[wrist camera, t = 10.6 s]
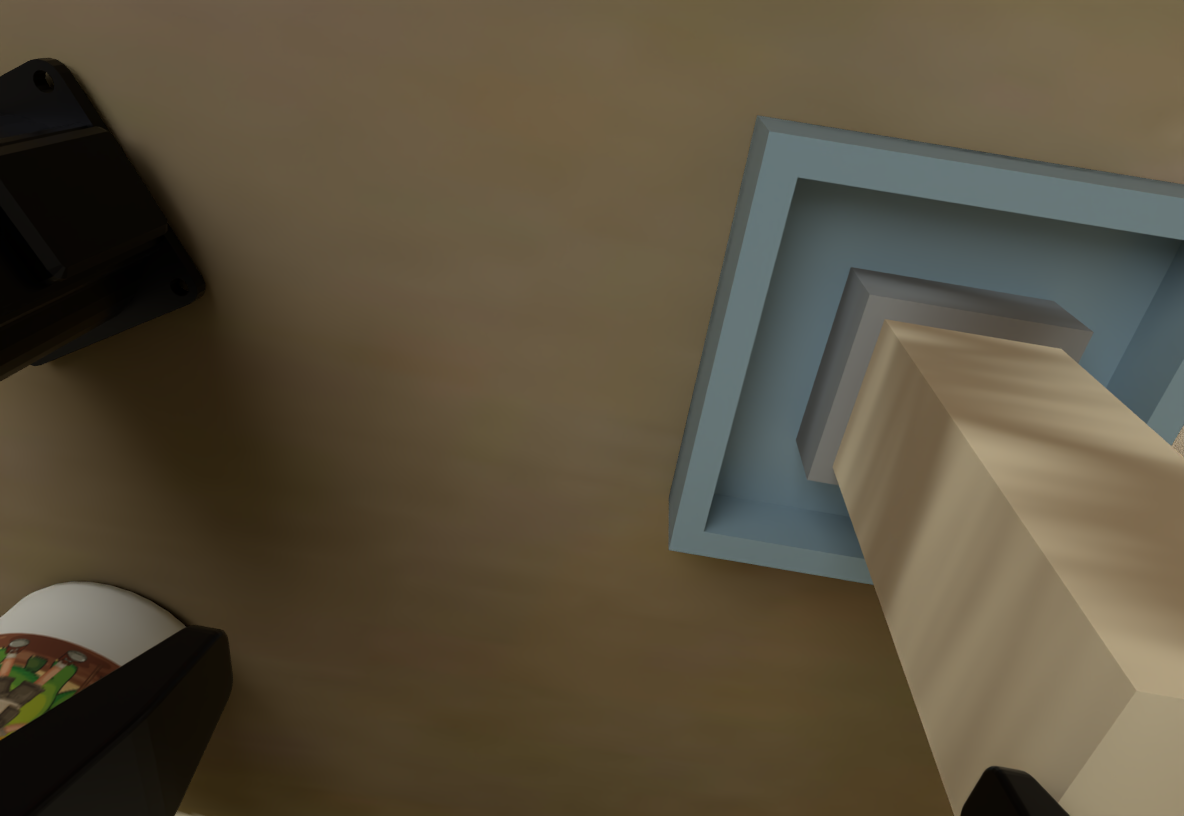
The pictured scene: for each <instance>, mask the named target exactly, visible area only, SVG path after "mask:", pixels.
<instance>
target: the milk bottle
mask: <svg viewBox="0 0 1184 816" xmlns="http://www.w3.org/2000/svg"><path fill="white" fill-rule="evenodd" d="M185 627H186V626H185V625H184V624H183V623H181V622H180V621H179V620H178V619H176V618H175V617H174V616H173V615H172V614H171V613H169V612H168V611H166V610H165V609H163V608H161V607H160V606H158V605H157V604H155V603H154V602H152V601H150V600H148V599H146V598H144V597H141V596H139V595H137V594H135V593H133V592H131V591H128V590H124V589H121V588H118V587H115V586H112V585H107V584H100V583H95V582H76V581H72V582H67V583H60V584H55V585H52V586H49V587H47V588H44V589H41V590H38V591H35V592H33V593H31V594H29V595H27V596H26V597H24V598H23V599H22V600H21V601H19V602H18V603H17V604H16V605H15V606H14V607H12V608H11V609H10V610H9V611H8V612H7V613H5V614H4V615H3V616H2V617H1V618H0V740H1V739H3V738H5V737H6V736H8V735H10V734H11V733H13V732H14V731H16V730H18V729H19V728H21V727H23V726H24V725H26V724H28V723H29V722H31V721H32V720H34V719H36V718H37V717H39V716H41V715H42V714H44V713H45V712H47V711H49V710H50V709H52V708H54V707H55V706H57V705H59V704H60V703H62V702H63V701H65V700H67V699H68V698H70V697H72V696H73V695H75V694H77V693H78V692H80V691H81V690H83V689H85V688H86V687H88V686H90V685H91V684H93V683H95V682H96V681H98V680H99V679H101V678H103V677H104V676H106V675H108V674H109V673H111V672H113V671H114V670H116V669H117V668H119V667H121V666H122V665H124V664H126V663H127V662H129V661H130V660H132V659H134V658H135V657H137V656H139V655H140V654H142V653H144V652H145V651H147V650H148V649H150V648H152V647H153V646H155V645H157V644H158V643H160V642H162V641H163V640H165V639H166V638H168V637H170V636H171V635H173V634H175V633H176V632H178V631H180V630H181V629H183V628H185Z"/></svg>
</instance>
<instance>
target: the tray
mask: <svg viewBox="0 0 1184 816" xmlns="http://www.w3.org/2000/svg"><path fill="white" fill-rule="evenodd" d="M851 267H854V268H860V269H866V270H872V271H878V272H884V273H890V274H896V275H902V276H908V277H914V278H919V279H925V280H931V281H937V282H943V283H949V284H955V285H961V286H967V287H973V288H979V289H985V290H991V291H997V292H1003V293H1009V294H1015V295H1021V296H1027V297H1033V298H1039V299H1045V300H1051V301H1054V302H1056V303H1057V304H1058V305H1059V306H1061V307H1062V308H1063V309H1065V310H1066V311H1067V312H1068V313H1070V314H1071V315H1072V316H1074V317H1075V318H1076V319H1077V320H1079V321H1080V322H1081V323H1083V324H1084V325H1085V326H1086V327H1088V328H1089V329H1090V330H1092V331H1093V332H1094V333H1093V335H1092V337H1091V339H1090V341H1089V343H1088V345H1087V347H1086V349H1085V351H1084V353H1083V355H1082V357H1081V359H1080V361H1079V363H1078V364H1079V365H1080V366H1081V367H1082V368H1084V369H1085V370H1086V371H1087V372H1088V373H1089V374H1090V375H1092V376H1093V377H1094V378H1095V379H1096V380H1097V381H1098V382H1099V383H1101V384H1102V385H1103V386H1104V387H1105V388H1106V389H1107V390H1108V391H1110V392H1111V393H1112V394H1113V395H1114V396H1115V397H1116V398H1118V399H1119V400H1120V401H1121V402H1122V403H1123V404H1124V405H1125V406H1127V407H1128V408H1129V409H1130V410H1131V411H1132V412H1133V413H1134V414H1136V415H1137V416H1138V417H1139V418H1140V419H1141V420H1142V421H1144V422H1145V423H1146V424H1147V425H1148V426H1149V427H1150V428H1151V429H1153V430H1154V431H1155V432H1156V433H1157V434H1158V435H1159V436H1160V437H1162V438H1163V439H1164V440H1165V441H1166V442H1167V443H1168V444H1170V445H1172V444H1173V442H1174V440H1175V439H1176V437H1177V435H1178V434H1179V432H1180V430H1181V429H1182V427H1183V425H1184V185H1183V184H1177V183H1171V182H1165V181H1159V180H1152V179H1146V178H1140V177H1134V176H1128V175H1122V174H1115V173H1109V172H1103V171H1097V170H1091V169H1085V168H1078V167H1072V166H1066V165H1060V164H1054V163H1048V162H1041V161H1035V160H1029V159H1023V158H1017V157H1011V156H1004V155H998V154H992V153H986V152H980V151H974V150H967V149H961V148H955V147H949V146H943V145H936V144H930V143H924V142H918V141H912V140H906V139H899V138H893V137H887V136H881V135H875V134H869V133H862V132H856V131H850V130H844V129H838V128H832V127H825V126H819V125H813V124H807V123H801V122H795V121H788V120H782V119H776V118H770V117H764V116H758V115H757V119H756V123H755V127H754V132H753V136H752V140H751V145H750V149H749V153H748V158H747V162H746V166H745V170H744V175H743V179H742V183H741V188H740V192H739V196H738V201H737V205H736V209H735V214H734V218H733V222H732V227H731V231H730V235H729V240H728V244H727V248H726V253H725V257H724V261H723V266H722V270H721V274H720V279H719V283H718V287H717V292H716V296H715V300H714V305H713V309H712V313H711V318H710V322H709V326H708V331H707V335H706V339H705V344H704V348H703V352H702V357H701V361H700V365H699V370H698V374H697V378H696V383H695V387H694V391H693V396H692V400H691V404H690V409H689V413H688V417H687V422H686V426H685V430H684V435H683V439H682V443H681V448H680V452H679V456H678V461H677V465H676V469H675V474H674V478H673V482H672V487H671V491H670V495H669V550H672V551H678V552H684V553H690V554H696V555H701V556H707V557H713V558H719V559H725V560H731V561H737V562H742V563H748V564H754V565H760V566H766V567H772V568H778V569H784V570H789V571H795V572H801V573H807V574H813V575H819V576H825V577H831V578H836V579H842V580H848V581H854V582H860V583H866V584H872V585H874V584H873V581H872V579H871V576H870V573H869V570H868V567H867V564H866V561H865V558H864V556H863V553H862V550H861V547H860V544H859V541H858V538H857V536H856V533H855V530H854V527H853V524H852V521H851V518H850V516H849V513H848V510H847V507H846V504H845V501H844V498H843V495H842V493H841V490H840V487H839V485H834V484H828V483H822V482H816V481H811V480H807V478H806V474H805V471H804V467H803V464H802V460H801V457H800V453H799V450H798V446H797V443H796V438H797V434H798V431H799V428H800V425H801V422H802V419H803V416H804V413H805V409H806V406H807V403H808V400H809V397H810V394H811V391H812V387H813V384H814V381H815V378H816V375H817V372H818V369H819V365H820V362H821V359H822V356H823V353H824V350H825V347H826V344H827V340H828V337H829V334H830V331H831V328H832V325H833V322H834V318H835V315H836V312H837V309H838V306H839V303H840V300H841V296H842V293H843V290H844V287H845V284H846V281H847V278H848V275H849V271H850V268H851Z"/></svg>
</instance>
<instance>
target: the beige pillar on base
mask: <svg viewBox="0 0 1184 816" xmlns="http://www.w3.org/2000/svg"><path fill="white" fill-rule="evenodd" d="M1093 333H1094V332H1093V331H1092V330H1090V329H1089V328H1088V327H1086V326H1085V325H1084V324H1083V323H1081V322H1080V321H1079V320H1077V319H1076V318H1075V317H1074V316H1072V315H1071V314H1070V313H1068V312H1067V311H1066V310H1065V309H1063V308H1062V307H1061V306H1059V305H1058V304H1057V303H1056V302H1054V301H1051V300H1045V299H1039V298H1033V297H1027V296H1021V295H1015V294H1009V293H1003V292H997V291H991V290H985V289H979V288H973V287H967V286H961V285H955V284H949V283H943V282H937V281H931V280H925V279H919V278H914V277H908V276H902V275H896V274H890V273H884V272H878V271H872V270H866V269H860V268H854V267H851V268H850V271H849V275H848V278H847V281H846V284H845V287H844V290H843V293H842V296H841V300H840V303H839V306H838V309H837V312H836V315H835V318H834V322H833V325H832V328H831V331H830V334H829V337H828V340H827V344H826V347H825V350H824V353H823V356H822V359H821V362H820V365H819V369H818V372H817V375H816V378H815V381H814V384H813V387H812V391H811V394H810V397H809V400H808V403H807V406H806V409H805V413H804V416H803V419H802V422H801V425H800V428H799V431H798V434H797V438H796V443H797V446H798V450H799V453H800V457H801V460H802V464H803V467H804V471H805V474H806V478H807V480H811V481H816V482H822V483H828V484H834V485H839V487H840V490H841V493H842V495H843V498H844V501H845V504H846V507H847V510H848V513H849V516H850V518H851V521H852V524H853V527H854V530H855V533H856V536H857V538H858V541H859V544H860V547H861V550H862V553H863V556H864V558H865V561H866V564H867V567H868V570H869V573H870V576H871V579H872V581H873V584H874V587H875V590H876V593H877V596H878V599H879V601H880V604H881V607H882V610H883V613H884V616H885V619H886V622H887V624H888V627H889V630H890V633H891V636H892V639H893V642H894V644H895V647H896V650H897V653H898V656H899V659H900V662H901V664H902V667H903V670H904V673H905V676H906V679H907V682H908V685H909V687H910V690H911V693H912V696H913V699H914V702H915V705H916V707H917V710H918V713H919V716H920V719H921V722H922V725H923V727H924V730H925V733H926V736H927V739H928V742H929V745H930V748H931V750H932V753H933V756H934V759H935V762H936V765H937V768H938V770H939V773H940V776H941V779H942V782H943V785H944V788H945V791H946V793H947V796H948V799H949V802H950V805H951V808H952V811H953V813H954V816H960V815H961V811H962V807H963V805H964V803H965V802H966V800H967V798H968V797H969V795H970V793H971V792H972V790H973V788H974V787H975V785H976V783H977V782H978V780H979V779H980V777H981V775H982V774H983V772H984V771H985V769H987V768H988V767H990V766H1001V767H1006V768H1012V769H1018V770H1022V771H1025V772H1027V773H1028V774H1030V775H1031V776H1032V777H1034V778H1035V779H1036V780H1037V781H1038V782H1039V783H1040V784H1041V786H1042V787H1043V788H1044V789H1045V790H1046V791H1047V792H1048V793H1049V794H1050V795H1051V796H1052V797H1053V798H1054V799H1055V800H1056V801H1057V802H1058V803H1059V804H1060V805H1061V807H1062V808H1063V809H1064V810H1065V811H1066V812H1067V813H1068V814H1069V815H1070V816H1184V457H1183V456H1182V455H1181V454H1180V453H1179V452H1177V451H1176V450H1175V449H1174V448H1173V447H1172V446H1171V445H1170V444H1168V443H1167V442H1166V441H1165V440H1164V439H1163V438H1162V437H1160V436H1159V435H1158V434H1157V433H1156V432H1155V431H1154V430H1153V429H1151V428H1150V427H1149V426H1148V425H1147V424H1146V423H1145V422H1144V421H1142V420H1141V419H1140V418H1139V417H1138V416H1137V415H1136V414H1134V413H1133V412H1132V411H1131V410H1130V409H1129V408H1128V407H1127V406H1125V405H1124V404H1123V403H1122V402H1121V401H1120V400H1119V399H1118V398H1116V397H1115V396H1114V395H1113V394H1112V393H1111V392H1110V391H1108V390H1107V389H1106V388H1105V387H1104V386H1103V385H1102V384H1101V383H1099V382H1098V381H1097V380H1096V379H1095V378H1094V377H1093V376H1092V375H1090V374H1089V373H1088V372H1087V371H1086V370H1085V369H1084V368H1082V367H1081V366H1080V365H1079V364H1078V363H1079V361H1080V359H1081V357H1082V355H1083V353H1084V351H1085V349H1086V347H1087V345H1088V343H1089V341H1090V339H1091V337H1092V335H1093Z"/></svg>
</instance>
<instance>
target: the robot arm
mask: <svg viewBox="0 0 1184 816" xmlns="http://www.w3.org/2000/svg"><path fill="white" fill-rule="evenodd" d="M46 72H47V73H48V74H49V75H50V76H51V77H52V79H53V82H54V89H52V88H51V87H50V86H49V85H48V84H47V82H46V79H45V73H46ZM179 279H182V280H184V281H185V283H186V284H187V285H188V288H189V290H188V291H187V290H184V289H183V288H182V287H181V286H180V284H179V281H178V280H179ZM204 291H205V282H204V280H203V277H202V275H201V274H200V272H199V271H198V269H197V268H196V266H195V265H194V263H193V261H192V260H191V258H190V257H189V255H188V254H187V252H186V250H185V249H184V247H183V246H182V244H181V243H180V241H179V240H178V238H177V236H176V235H175V233H174V232H173V230H172V229H171V227H170V226H169V224H168V222H167V219H166V218H165V216H164V214H163V213H162V211H161V210H160V208H159V207H158V205H157V204H156V202H155V200H154V199H153V197H152V196H151V194H150V193H149V191H148V190H147V188H146V186H145V185H144V183H143V182H142V180H141V179H140V177H139V176H138V174H137V172H136V171H135V169H134V168H133V166H132V165H131V163H130V162H129V160H128V158H127V157H126V155H125V154H124V152H123V151H122V149H121V147H120V146H119V144H118V143H117V141H116V140H115V138H114V137H113V135H112V134H111V133H110V132H109V131H108V129H107V128H106V126H105V124H104V123H103V121H102V120H101V118H100V117H99V115H98V114H97V112H96V110H95V109H94V107H93V106H92V104H91V103H90V101H89V100H88V98H87V96H86V95H85V93H84V92H83V90H82V89H81V87H80V85H79V84H78V82H77V81H76V79H75V78H74V76H73V75H72V73H71V72H70V70H69V69H68V68H67V67H66V66H65V65H64V64H63V63H61V62H60V61H58V60H56V59H52V58H40V59H34V60H30V61H28V62H26V63H24V64H22V65H20V66H19V67H17V68H15V69H13V70H11V71H10V72H8V73H6V74H4V75H2V76H0V381H2V380H4V379H5V378H7V377H9V376H11V375H12V374H14V373H16V372H18V371H20V370H21V369H23V368H25V367H27V366H28V365H33V366H38V365H42V364H44V363H47V362H49V361H52V360H54V359H57V358H59V357H61V356H64V355H66V354H69V353H71V352H74V351H76V350H79V349H81V348H83V347H86V346H88V345H91V344H93V343H96V342H98V341H100V340H103V339H105V338H108V337H110V336H113V335H115V334H117V333H120V332H122V331H125V330H127V329H130V328H132V327H134V326H137V325H139V324H142V323H144V322H147V321H149V320H152V319H154V318H156V317H159V316H161V315H164V314H166V313H169V312H171V311H173V310H176V309H178V308H181V307H183V306H186V305H188V304H190V303H192V302H194V301H195V300H197V299H198V298H200V297H201V296H202V295H203V294H204ZM232 683H233V674H232V666H231V658H230V650H229V641H228V637H227V635H226V633H225V632H224V631H223V630H220V629H215V628H210V627H204V626H198V625H191V626H188V627H185V628H183V629H181V630H180V631H178V632H176V633H175V634H173V635H171V636H170V637H168V638H166V639H165V640H163V641H162V642H160V643H158V644H157V645H155V646H153V647H152V648H150V649H148V650H147V651H145V652H144V653H142V654H140V655H139V656H137V657H135V658H134V659H132V660H130V661H129V662H127V663H126V664H124V665H122V666H121V667H119V668H117V669H116V670H114V671H113V672H111V673H109V674H108V675H106V676H104V677H103V678H101V679H99V680H98V681H96V682H95V683H93V684H91V685H90V686H88V687H86V688H85V689H83V690H81V691H80V692H78V693H77V694H75V695H73V696H72V697H70V698H68V699H67V700H65V701H63V702H62V703H60V704H59V705H57V706H55V707H54V708H52V709H50V710H49V711H47V712H45V713H44V714H42V715H41V716H39V717H37V718H36V719H34V720H32V721H31V722H29V723H28V724H26V725H24V726H23V727H21V728H19V729H18V730H16V731H14V732H13V733H11V734H10V735H8V736H6V737H5V738H3V739H1V740H0V816H175V814H176V812H177V810H178V808H179V806H180V803H181V801H182V799H183V797H184V795H185V793H186V790H187V788H188V786H189V784H190V782H191V779H192V777H193V775H194V773H195V771H196V769H197V766H198V764H199V762H200V760H201V758H202V755H203V753H204V751H205V749H206V747H207V744H208V742H209V740H210V738H211V736H212V734H213V731H214V729H215V727H216V725H217V723H218V720H219V718H220V716H221V714H222V712H223V710H224V707H225V705H226V703H227V701H228V698H229V696H230V693H231V689H232ZM960 816H1070V815H1069V814H1068V813H1067V812H1066V811H1065V810H1064V809H1063V808H1062V807H1061V805H1060V804H1059V803H1058V802H1057V801H1056V800H1055V799H1054V798H1053V797H1052V796H1051V795H1050V794H1049V793H1048V792H1047V791H1046V790H1045V789H1044V788H1043V787H1042V786H1041V784H1040V783H1039V782H1038V781H1037V780H1036V779H1035V778H1034V777H1032V776H1031V775H1030V774H1028V773H1027V772H1025V771H1022V770H1018V769H1012V768H1006V767H1001V766H990V767H988V768H987V769H985V771H984V772H983V774H982V775H981V777H980V779H979V780H978V782H977V783H976V785H975V787H974V788H973V790H972V792H971V793H970V795H969V797H968V798H967V800H966V802H965V803H964V805H963V807H962V811H961V815H960Z"/></svg>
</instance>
